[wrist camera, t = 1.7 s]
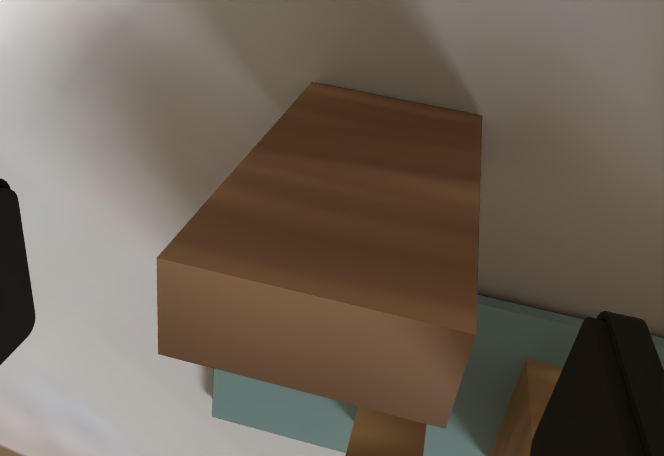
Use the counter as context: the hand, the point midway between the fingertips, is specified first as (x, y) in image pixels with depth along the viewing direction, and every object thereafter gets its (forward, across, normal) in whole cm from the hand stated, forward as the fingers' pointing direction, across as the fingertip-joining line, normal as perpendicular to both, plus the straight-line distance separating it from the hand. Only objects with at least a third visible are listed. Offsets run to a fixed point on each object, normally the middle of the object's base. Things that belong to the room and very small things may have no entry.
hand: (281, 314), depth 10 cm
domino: (+10, -1, 0) cm, 10 cm away
